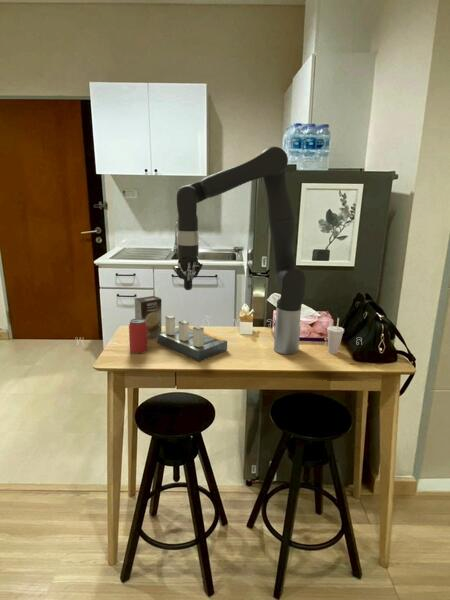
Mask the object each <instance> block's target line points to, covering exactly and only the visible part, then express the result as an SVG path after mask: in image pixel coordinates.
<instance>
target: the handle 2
mask: <svg viewBox="0 0 450 600" xmlns="http://www.w3.org/2000/svg"><path fill="white" fill-rule="evenodd" d="M192 328H193V345H194V346H197V347H201V346H203V337H204V332H205V331H204V329H205V328H204V327H203V326H200V325H195V326H192Z"/></svg>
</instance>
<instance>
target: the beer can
mask: <svg viewBox="0 0 450 600" xmlns="http://www.w3.org/2000/svg"><path fill="white" fill-rule="evenodd" d="M128 334H129V336H128V337H129V338H128V341H129V351H130V352H131V353H133V354H143V353H146V352H147V351H148V347H149V345H148V339H147V324H146V322H145V320H144V319H141V318H136V319H135V318H132V319H130V320H129V324H128Z"/></svg>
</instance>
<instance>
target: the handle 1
mask: <svg viewBox="0 0 450 600" xmlns="http://www.w3.org/2000/svg"><path fill="white" fill-rule="evenodd" d="M164 319H165V331H166V334H168V335H173V334H175V328H176V317H175V316H173V315H166V316H165V318H164Z"/></svg>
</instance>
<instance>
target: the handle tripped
mask: <svg viewBox="0 0 450 600" xmlns="http://www.w3.org/2000/svg"><path fill="white" fill-rule="evenodd" d="M178 327H179V339H180V340H182V341H186V340H189V327H190V321H187V320H184V319H183V320H180V321H178Z"/></svg>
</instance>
